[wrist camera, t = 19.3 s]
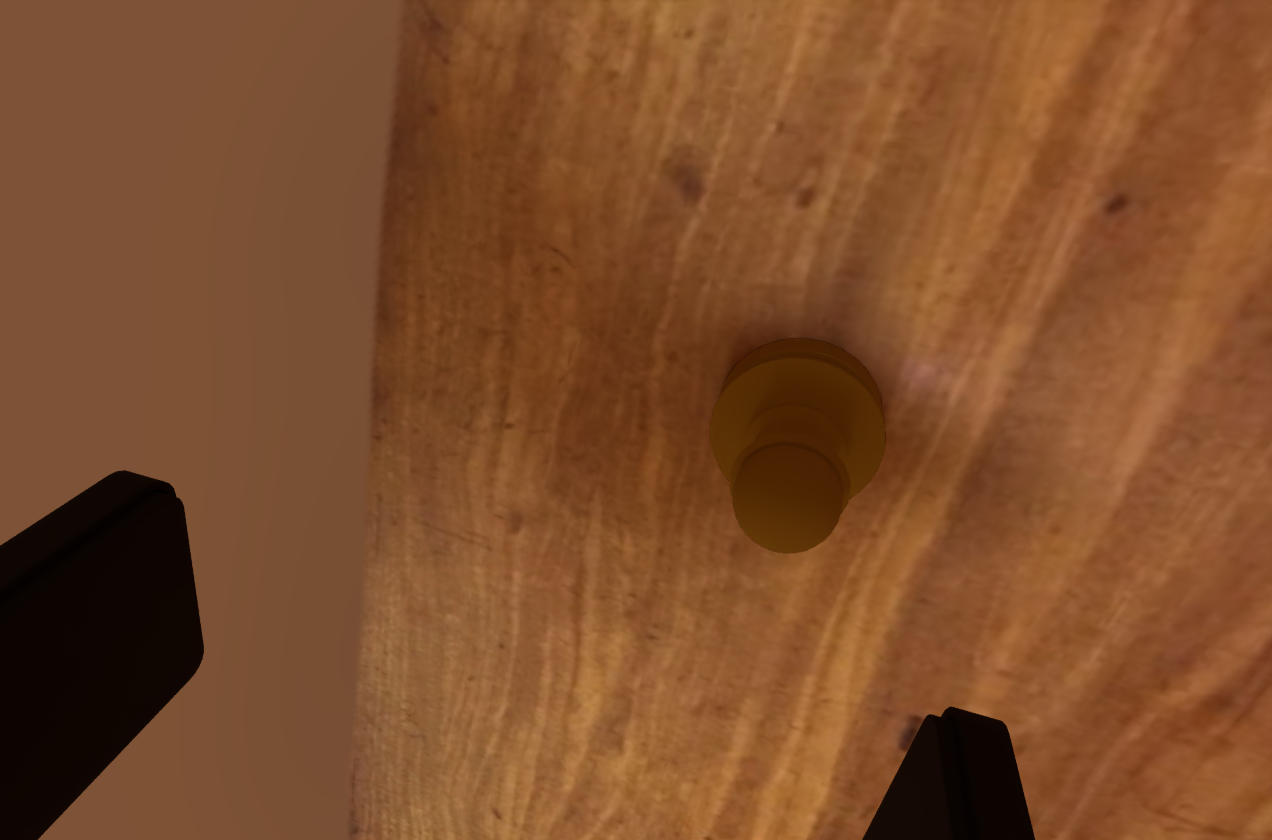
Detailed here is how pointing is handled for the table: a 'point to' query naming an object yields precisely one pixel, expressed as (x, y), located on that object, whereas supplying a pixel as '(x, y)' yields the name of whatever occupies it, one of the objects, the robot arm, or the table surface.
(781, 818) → the table surface
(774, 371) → the chess piece
